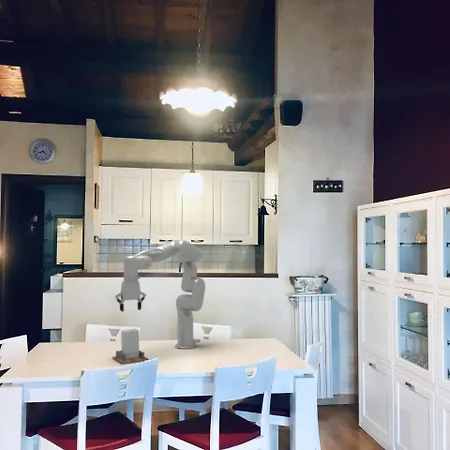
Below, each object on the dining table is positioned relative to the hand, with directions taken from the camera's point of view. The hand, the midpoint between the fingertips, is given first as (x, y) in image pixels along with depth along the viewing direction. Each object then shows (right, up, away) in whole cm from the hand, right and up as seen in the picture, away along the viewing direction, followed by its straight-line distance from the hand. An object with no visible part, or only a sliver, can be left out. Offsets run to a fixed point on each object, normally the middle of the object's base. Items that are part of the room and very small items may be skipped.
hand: (130, 310), depth 247 cm
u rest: (0, -26, -2) cm, 26 cm away
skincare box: (0, -25, -2) cm, 26 cm away
